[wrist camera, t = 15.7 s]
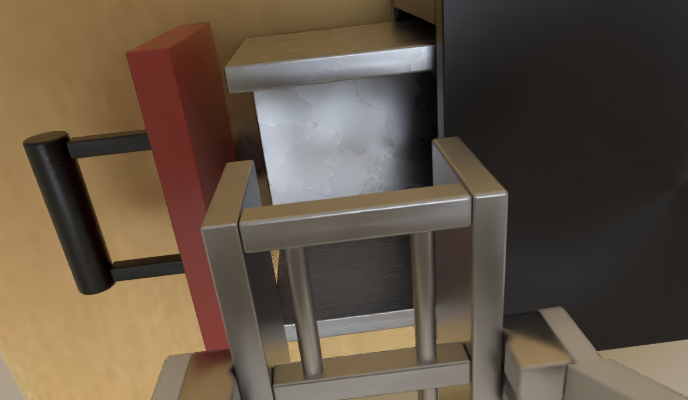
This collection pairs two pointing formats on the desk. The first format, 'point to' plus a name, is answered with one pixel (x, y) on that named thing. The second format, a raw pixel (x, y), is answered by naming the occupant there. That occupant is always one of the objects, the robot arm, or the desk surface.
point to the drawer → (267, 159)
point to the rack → (357, 224)
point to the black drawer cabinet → (577, 151)
